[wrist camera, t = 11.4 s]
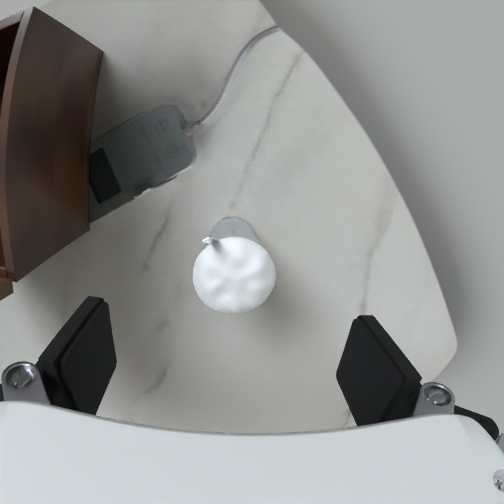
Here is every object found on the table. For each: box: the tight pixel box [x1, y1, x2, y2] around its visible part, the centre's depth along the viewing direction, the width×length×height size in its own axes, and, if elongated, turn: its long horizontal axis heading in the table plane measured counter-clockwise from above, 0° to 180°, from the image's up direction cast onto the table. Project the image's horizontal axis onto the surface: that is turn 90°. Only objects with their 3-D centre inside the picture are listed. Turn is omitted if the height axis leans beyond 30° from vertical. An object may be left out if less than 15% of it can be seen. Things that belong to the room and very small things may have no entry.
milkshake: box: [193, 217, 276, 314], centre depth 19 cm, size 5×5×10 cm
